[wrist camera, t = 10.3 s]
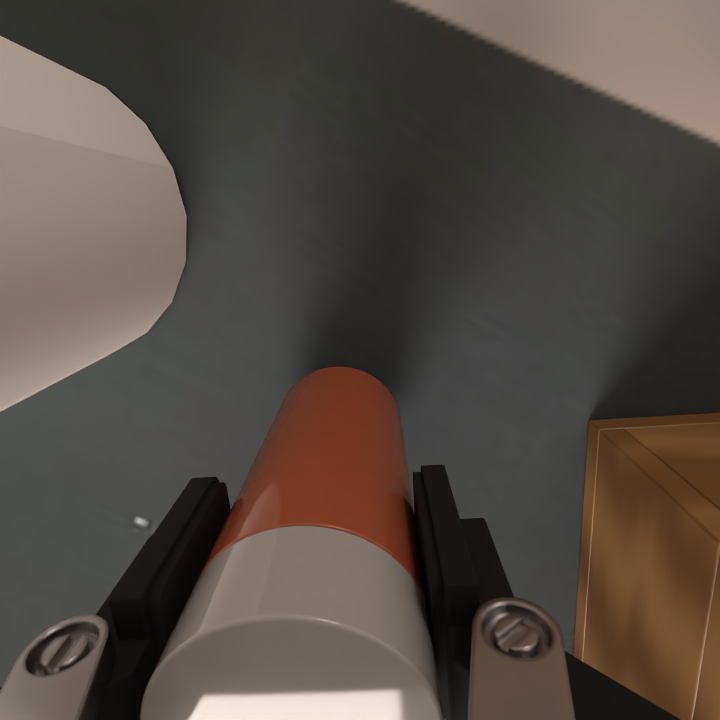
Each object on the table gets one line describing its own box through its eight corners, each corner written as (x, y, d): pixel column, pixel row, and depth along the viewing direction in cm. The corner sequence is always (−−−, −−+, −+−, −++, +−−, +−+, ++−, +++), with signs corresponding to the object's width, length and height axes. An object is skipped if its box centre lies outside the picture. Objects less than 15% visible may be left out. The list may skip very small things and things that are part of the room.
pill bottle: (272, 370, 17) (107, 624, 6) (397, 362, 17) (442, 611, 6) (286, 481, 18) (168, 848, 8) (403, 475, 18) (449, 842, 7)
